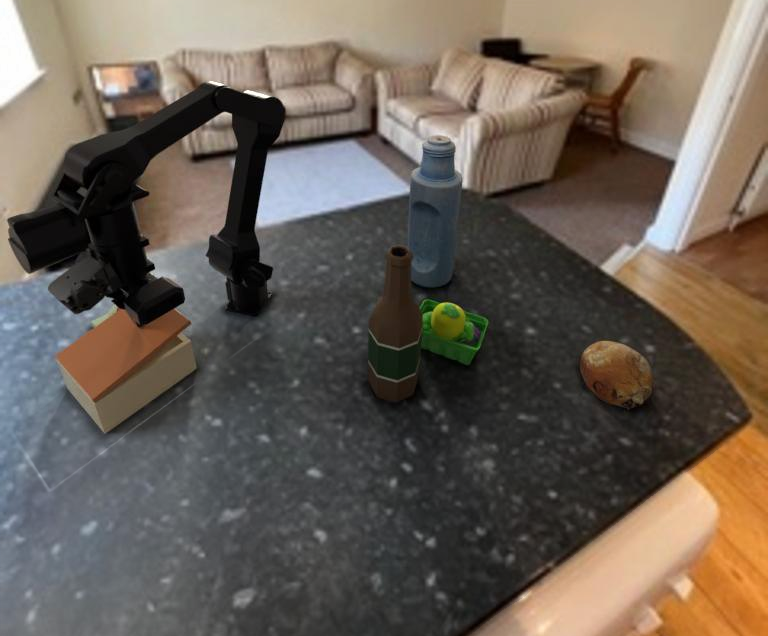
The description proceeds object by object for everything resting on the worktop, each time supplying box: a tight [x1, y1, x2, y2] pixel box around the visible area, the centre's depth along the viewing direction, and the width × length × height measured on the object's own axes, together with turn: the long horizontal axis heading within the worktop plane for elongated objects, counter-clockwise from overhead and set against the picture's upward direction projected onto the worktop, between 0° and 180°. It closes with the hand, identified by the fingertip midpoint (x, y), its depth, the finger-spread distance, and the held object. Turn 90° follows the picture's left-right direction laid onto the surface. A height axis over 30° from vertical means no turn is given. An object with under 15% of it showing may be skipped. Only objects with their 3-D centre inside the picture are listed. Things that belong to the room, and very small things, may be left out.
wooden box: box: [56, 332, 198, 435], centre depth 66 cm, size 14×12×6 cm
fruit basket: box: [419, 299, 489, 366], centre depth 72 cm, size 11×9×11 cm
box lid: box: [54, 308, 192, 403], centre depth 65 cm, size 14×12×1 cm
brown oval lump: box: [579, 340, 654, 410], centre depth 69 cm, size 10×10×8 cm
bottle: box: [406, 134, 464, 289], centre depth 86 cm, size 10×10×30 cm
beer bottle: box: [367, 244, 423, 403], centre depth 63 cm, size 8×8×24 cm
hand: (140, 324), depth 66 cm, fingers closed, pressing on box lid
